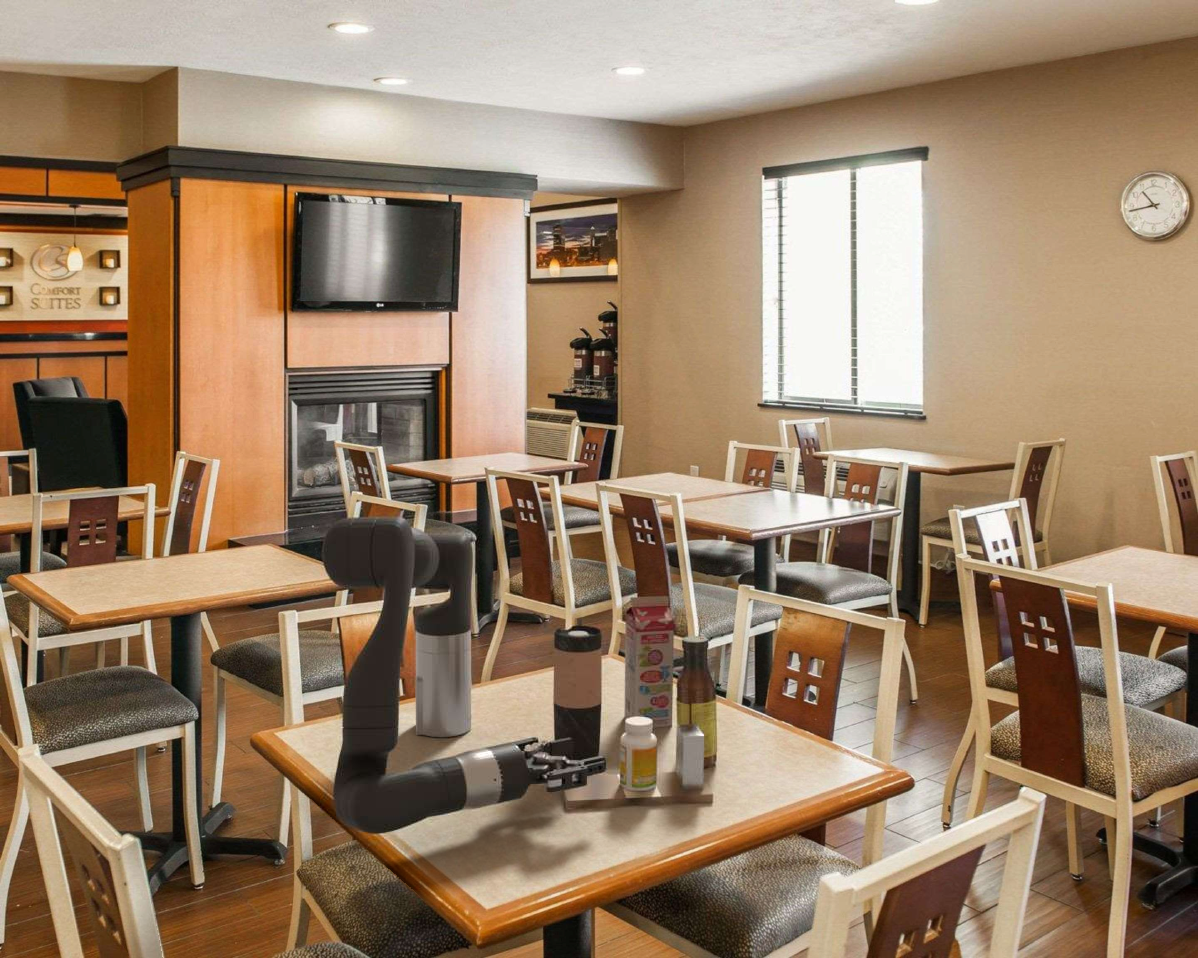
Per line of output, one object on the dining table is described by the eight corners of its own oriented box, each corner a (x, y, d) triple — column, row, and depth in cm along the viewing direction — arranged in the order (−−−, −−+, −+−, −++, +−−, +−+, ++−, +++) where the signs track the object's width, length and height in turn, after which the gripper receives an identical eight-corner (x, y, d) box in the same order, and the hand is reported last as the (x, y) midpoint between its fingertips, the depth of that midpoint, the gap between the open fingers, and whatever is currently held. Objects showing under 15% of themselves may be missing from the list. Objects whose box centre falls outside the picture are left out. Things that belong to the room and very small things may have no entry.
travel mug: (595, 763, 179) (596, 638, 177) (548, 759, 181) (548, 635, 178) (605, 747, 187) (606, 626, 184) (559, 743, 188) (560, 623, 186)
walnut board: (566, 808, 162) (566, 800, 162) (560, 784, 171) (560, 776, 171) (712, 802, 165) (712, 793, 165) (698, 778, 174) (699, 770, 174)
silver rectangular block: (682, 789, 166) (683, 736, 165) (675, 776, 171) (676, 724, 170) (703, 788, 167) (704, 735, 166) (695, 775, 172) (696, 724, 171)
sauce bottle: (722, 759, 182) (725, 636, 179) (709, 772, 176) (711, 645, 174) (683, 752, 185) (685, 631, 182) (669, 765, 179) (671, 640, 177)
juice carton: (624, 716, 202) (626, 593, 199) (660, 713, 204) (662, 591, 201) (634, 729, 196) (636, 602, 193) (672, 726, 197) (674, 600, 194)
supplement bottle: (663, 783, 169) (664, 718, 168) (644, 795, 164) (645, 729, 163) (631, 775, 172) (632, 712, 170) (612, 786, 167) (613, 722, 166)
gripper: (511, 766, 147) (617, 743, 156) (461, 733, 159) (562, 714, 168) (511, 822, 148) (616, 796, 157) (461, 786, 160) (561, 763, 169)
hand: (588, 753), depth 162 cm, fingers open, 8 cm apart
